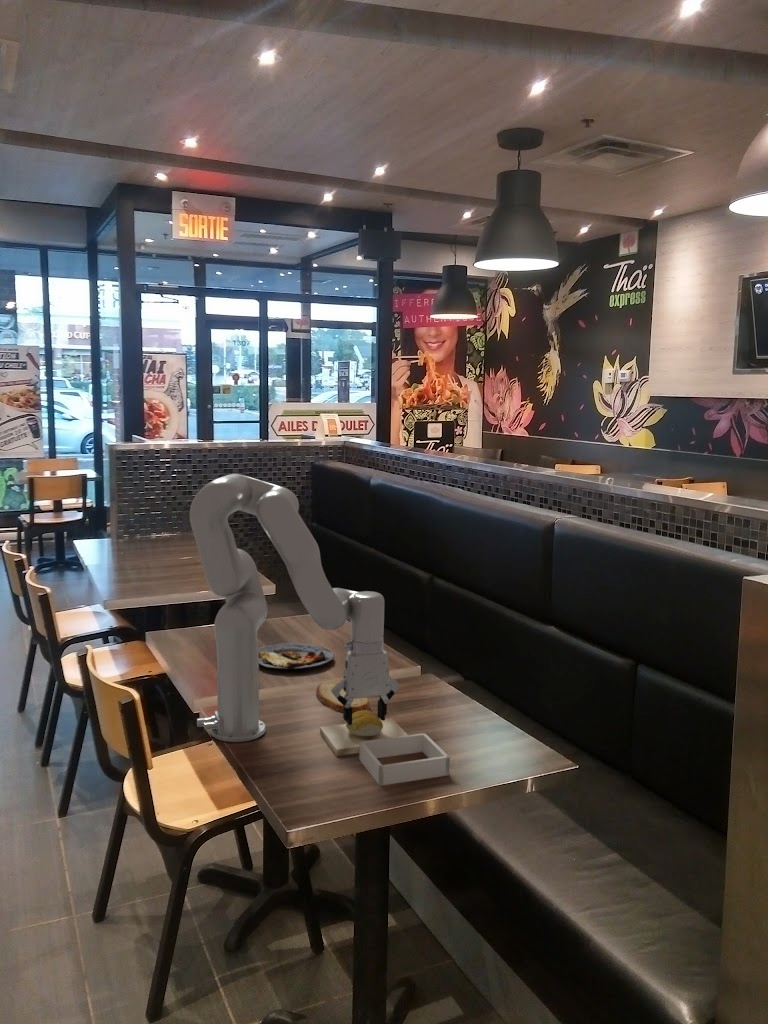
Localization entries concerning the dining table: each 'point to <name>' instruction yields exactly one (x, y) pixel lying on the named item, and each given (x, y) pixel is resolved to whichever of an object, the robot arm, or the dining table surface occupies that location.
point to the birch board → (349, 743)
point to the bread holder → (404, 770)
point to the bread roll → (365, 723)
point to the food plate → (293, 656)
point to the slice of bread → (332, 702)
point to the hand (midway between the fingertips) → (364, 719)
